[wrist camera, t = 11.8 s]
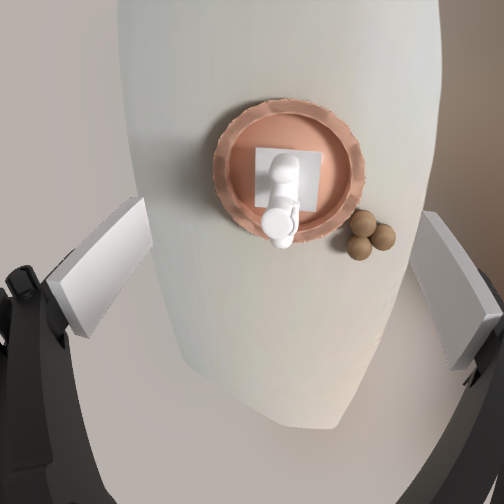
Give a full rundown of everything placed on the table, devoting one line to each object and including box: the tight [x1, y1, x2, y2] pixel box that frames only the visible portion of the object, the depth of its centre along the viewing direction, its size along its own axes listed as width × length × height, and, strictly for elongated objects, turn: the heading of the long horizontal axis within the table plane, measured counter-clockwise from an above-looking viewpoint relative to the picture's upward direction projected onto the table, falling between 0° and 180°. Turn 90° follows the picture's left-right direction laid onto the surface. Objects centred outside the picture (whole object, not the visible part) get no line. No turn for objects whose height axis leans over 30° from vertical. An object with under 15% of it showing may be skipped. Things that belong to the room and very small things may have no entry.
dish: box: [212, 98, 366, 243], centre depth 35 cm, size 18×19×3 cm
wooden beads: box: [347, 210, 396, 261], centre depth 37 cm, size 7×7×4 cm
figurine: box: [255, 147, 322, 249], centre depth 29 cm, size 7×9×15 cm
